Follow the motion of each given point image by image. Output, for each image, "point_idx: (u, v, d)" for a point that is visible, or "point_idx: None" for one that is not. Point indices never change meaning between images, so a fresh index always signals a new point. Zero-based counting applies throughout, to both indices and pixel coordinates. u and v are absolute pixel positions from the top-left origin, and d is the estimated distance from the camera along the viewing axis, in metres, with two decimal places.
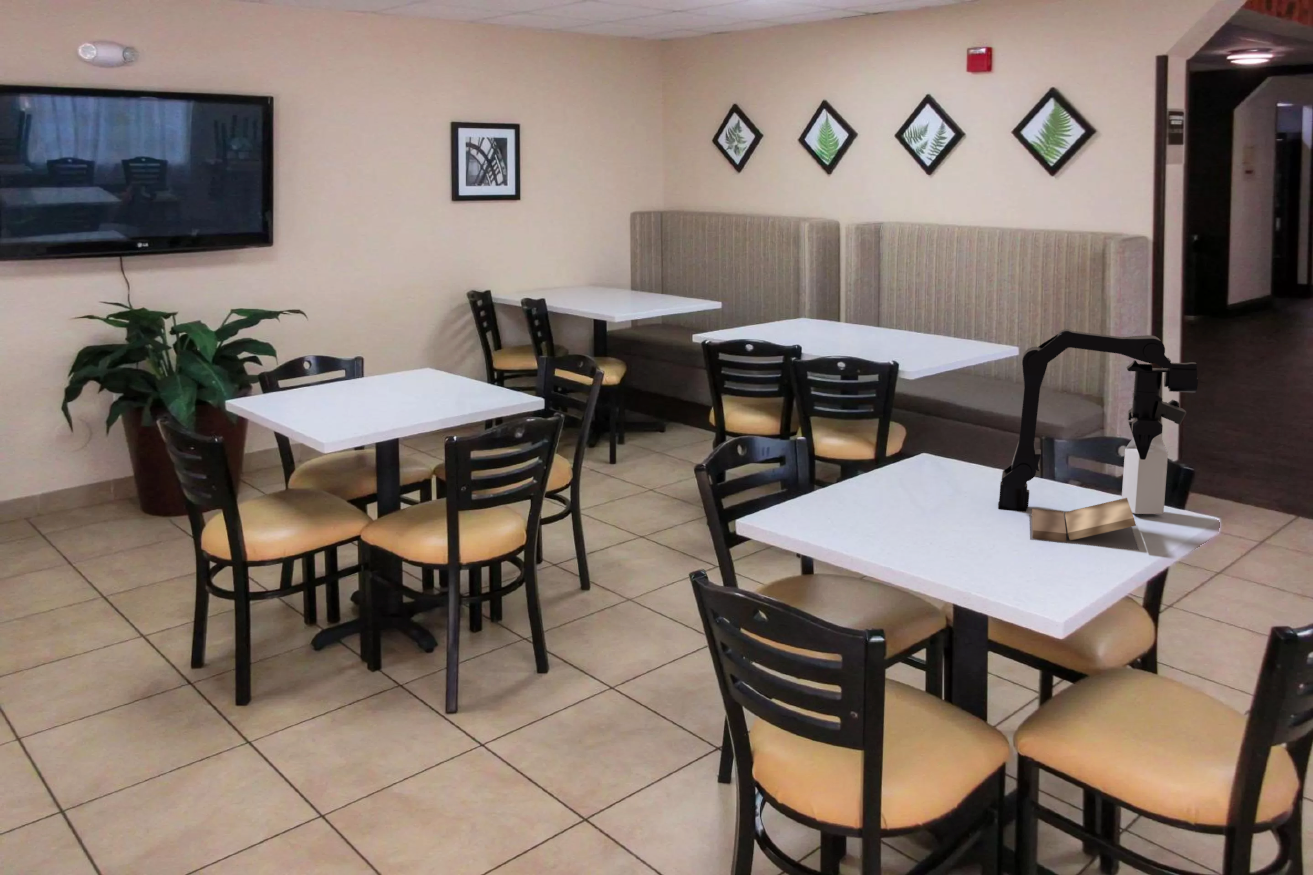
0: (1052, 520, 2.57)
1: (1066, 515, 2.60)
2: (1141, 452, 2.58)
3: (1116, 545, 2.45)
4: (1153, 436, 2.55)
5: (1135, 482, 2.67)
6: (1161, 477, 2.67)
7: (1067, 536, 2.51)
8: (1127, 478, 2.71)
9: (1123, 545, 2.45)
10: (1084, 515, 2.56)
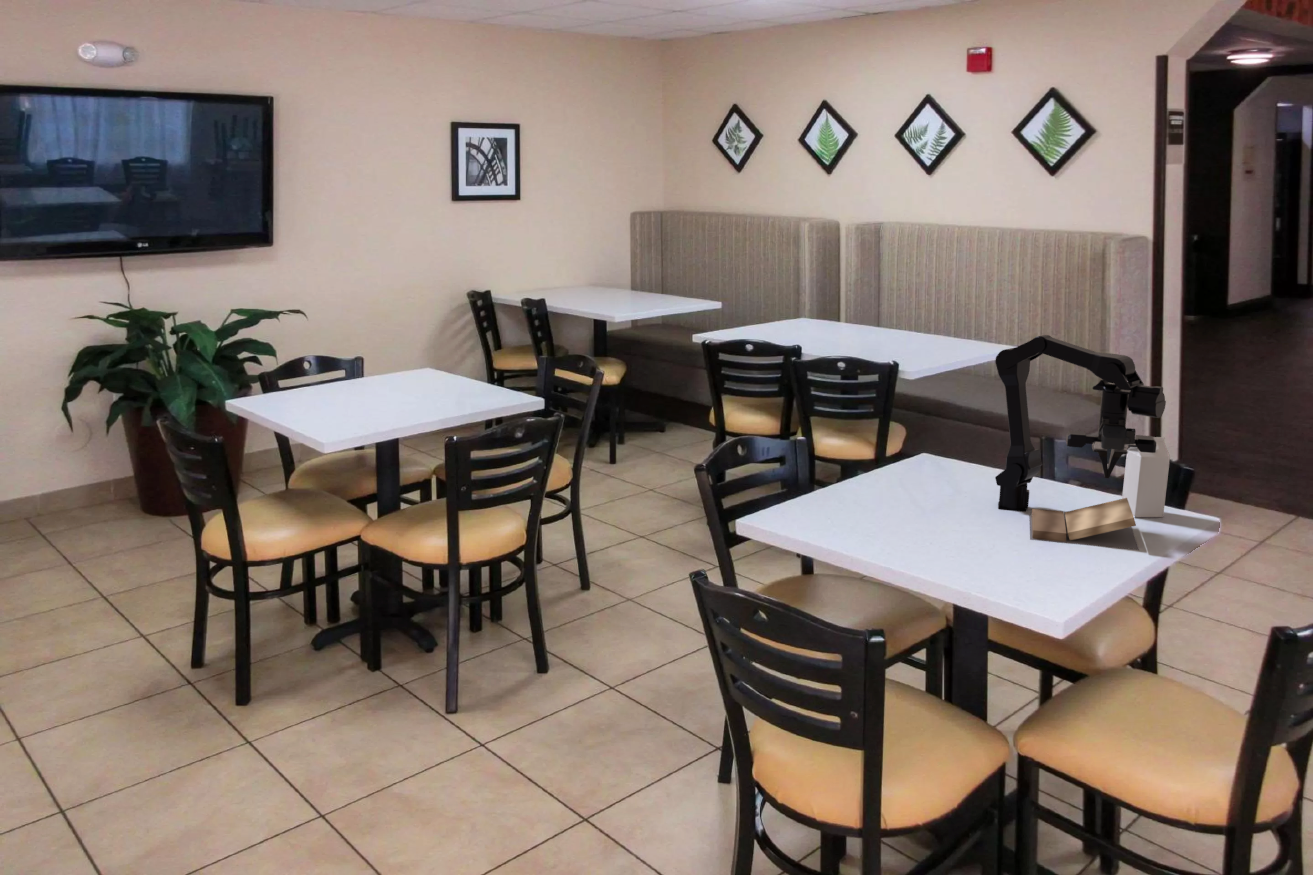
0: (1052, 520, 2.57)
1: (1066, 515, 2.60)
2: None
3: (1116, 545, 2.45)
4: None
5: (1136, 486, 2.66)
6: (1162, 481, 2.66)
7: (1067, 536, 2.51)
8: (1128, 480, 2.70)
9: (1123, 545, 2.45)
10: (1084, 515, 2.56)
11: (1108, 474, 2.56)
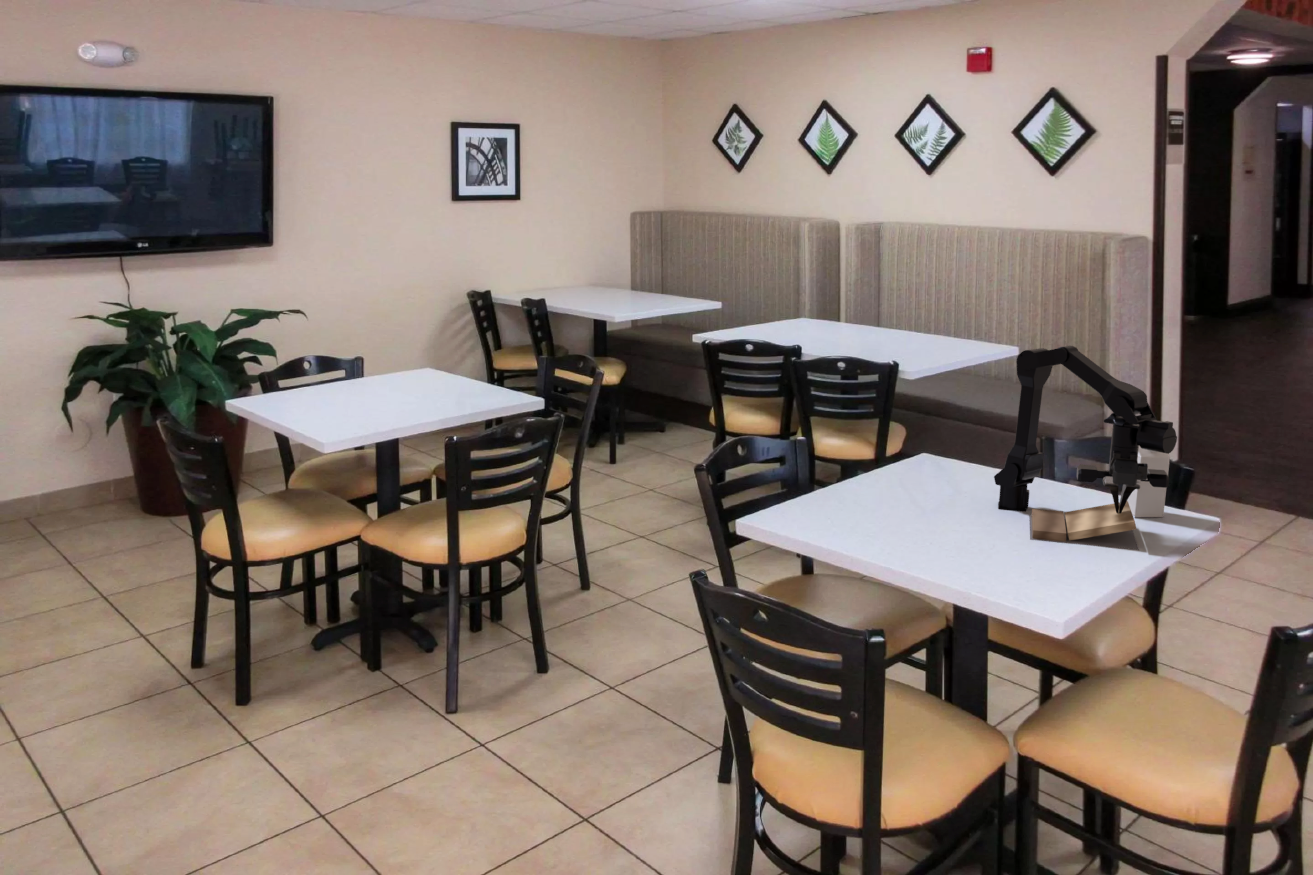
0: (1052, 520, 2.57)
1: (1066, 515, 2.60)
2: (1114, 504, 2.52)
3: (1116, 545, 2.45)
4: None
5: None
6: None
7: (1067, 536, 2.51)
8: None
9: (1123, 545, 2.45)
10: (1084, 516, 2.56)
11: (1120, 509, 2.51)
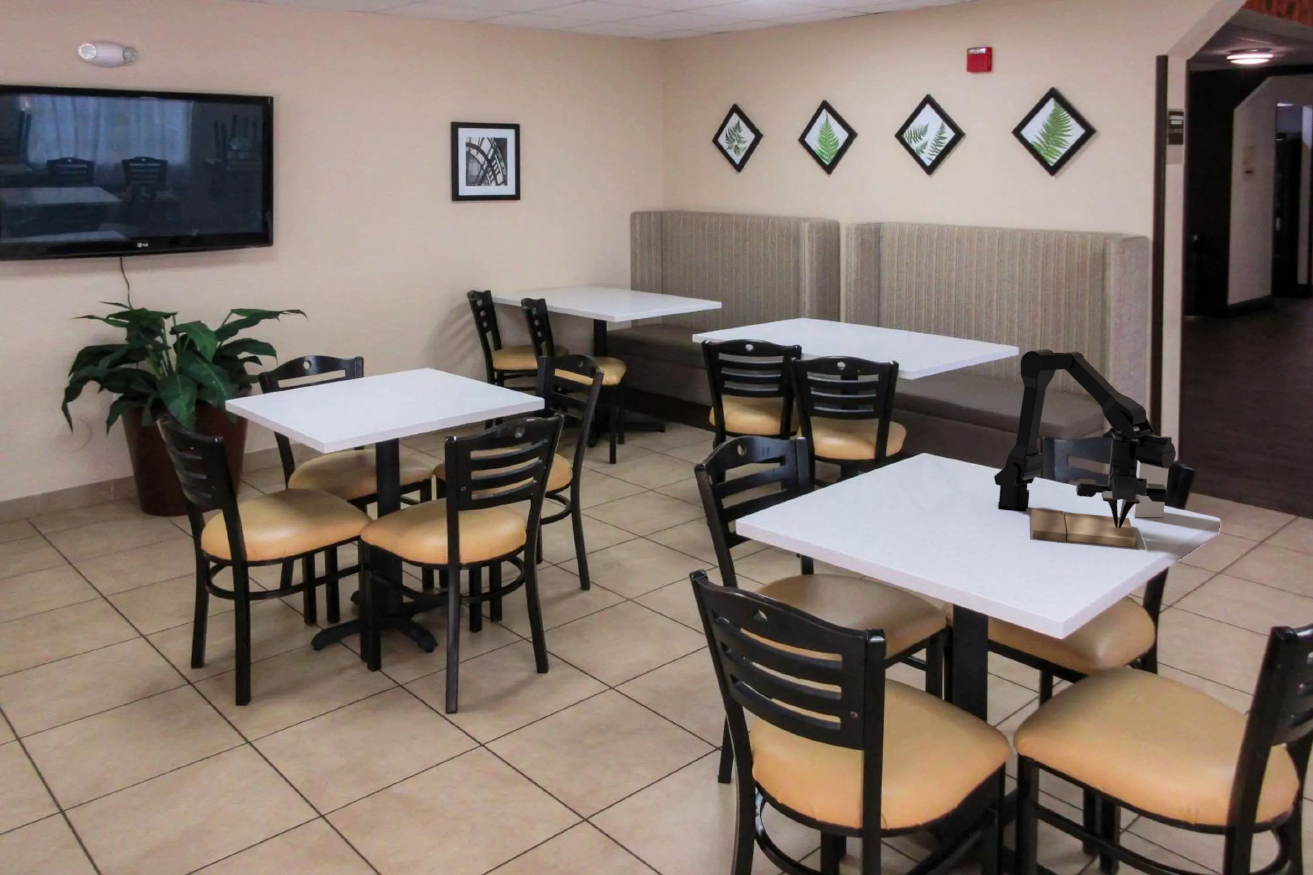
0: (1052, 520, 2.57)
1: (1066, 515, 2.60)
2: None
3: (1116, 545, 2.45)
4: None
5: None
6: (1162, 481, 2.66)
7: None
8: None
9: None
10: (1084, 521, 2.56)
11: (1120, 523, 2.51)
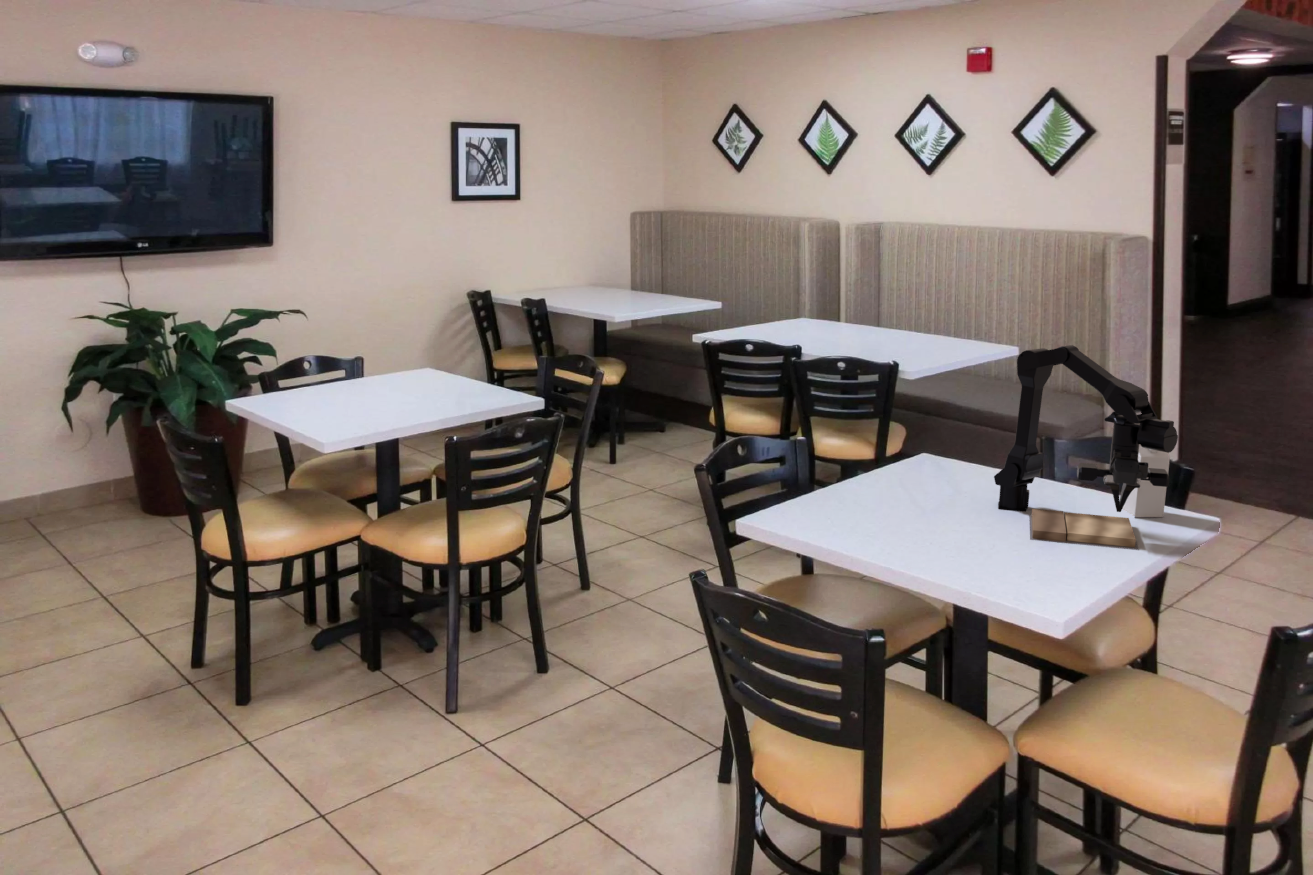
0: (1052, 520, 2.57)
1: (1066, 515, 2.60)
2: None
3: (1116, 545, 2.45)
4: None
5: None
6: None
7: None
8: None
9: None
10: (1084, 521, 2.56)
11: (1120, 508, 2.51)
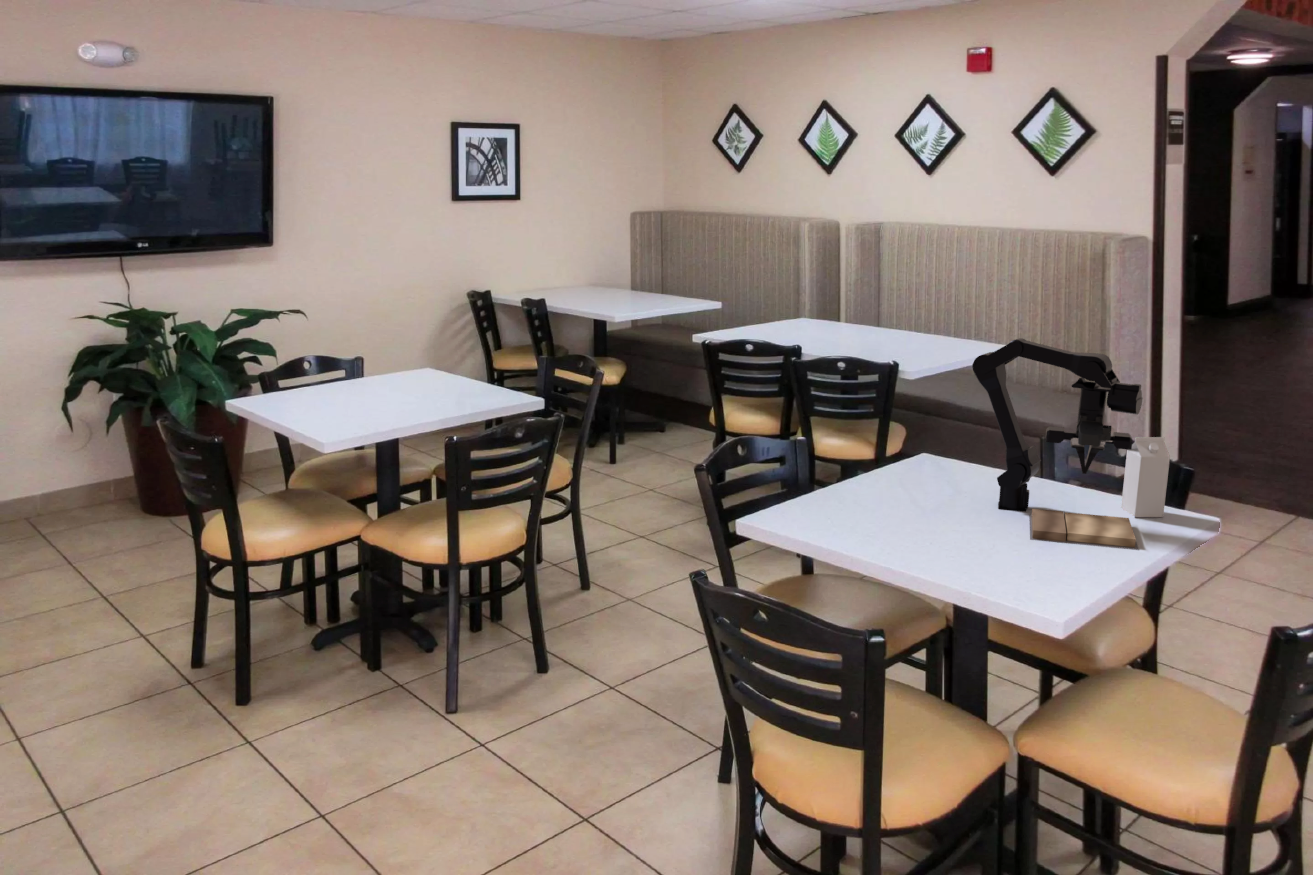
0: (1052, 520, 2.57)
1: (1066, 515, 2.60)
2: None
3: (1116, 545, 2.45)
4: None
5: (1136, 486, 2.66)
6: (1162, 481, 2.66)
7: None
8: (1128, 480, 2.70)
9: None
10: (1084, 521, 2.56)
11: (1085, 470, 2.62)
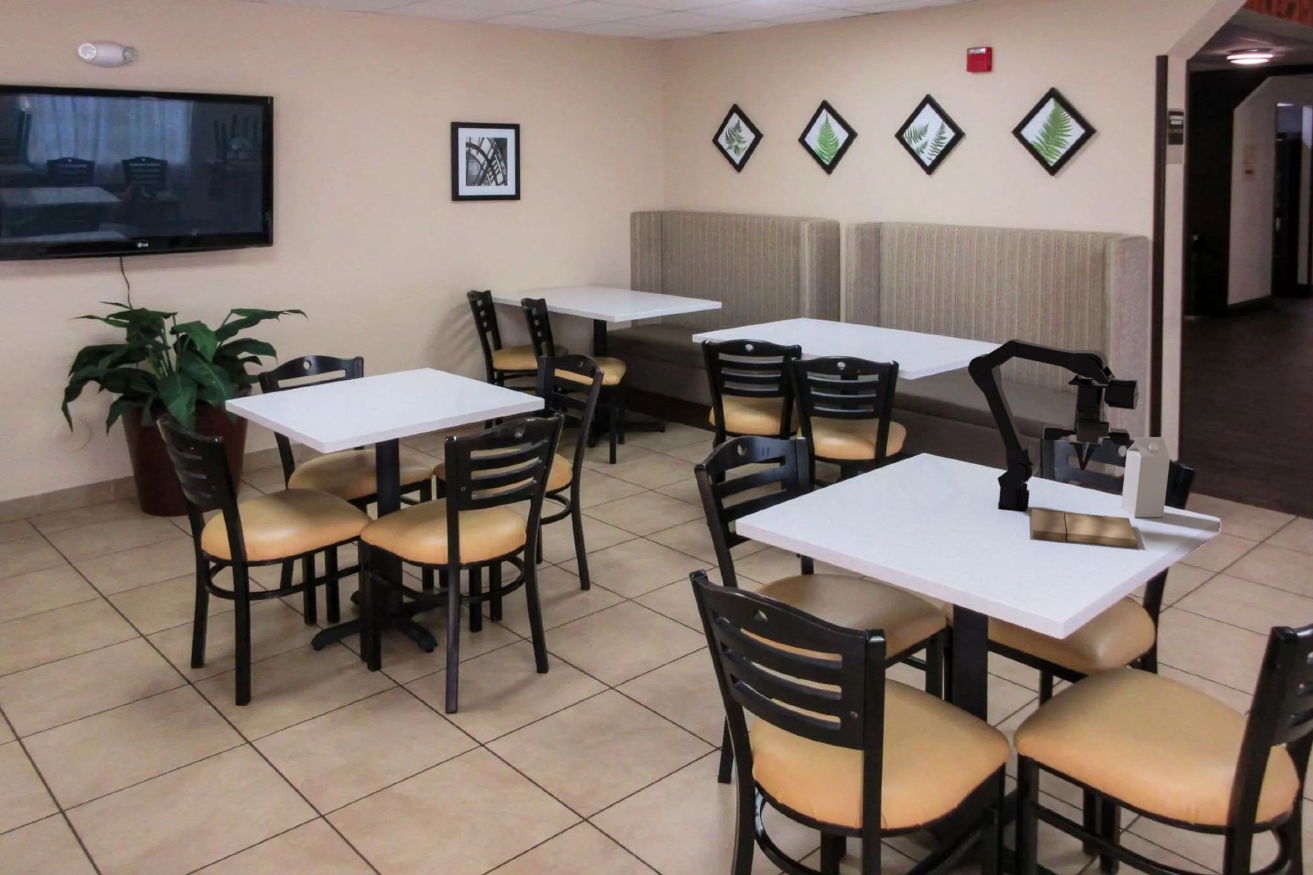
0: (1052, 520, 2.57)
1: (1066, 515, 2.60)
2: None
3: (1116, 545, 2.45)
4: None
5: (1136, 486, 2.66)
6: (1162, 481, 2.66)
7: None
8: (1128, 480, 2.70)
9: None
10: (1084, 521, 2.56)
11: (1083, 466, 2.63)
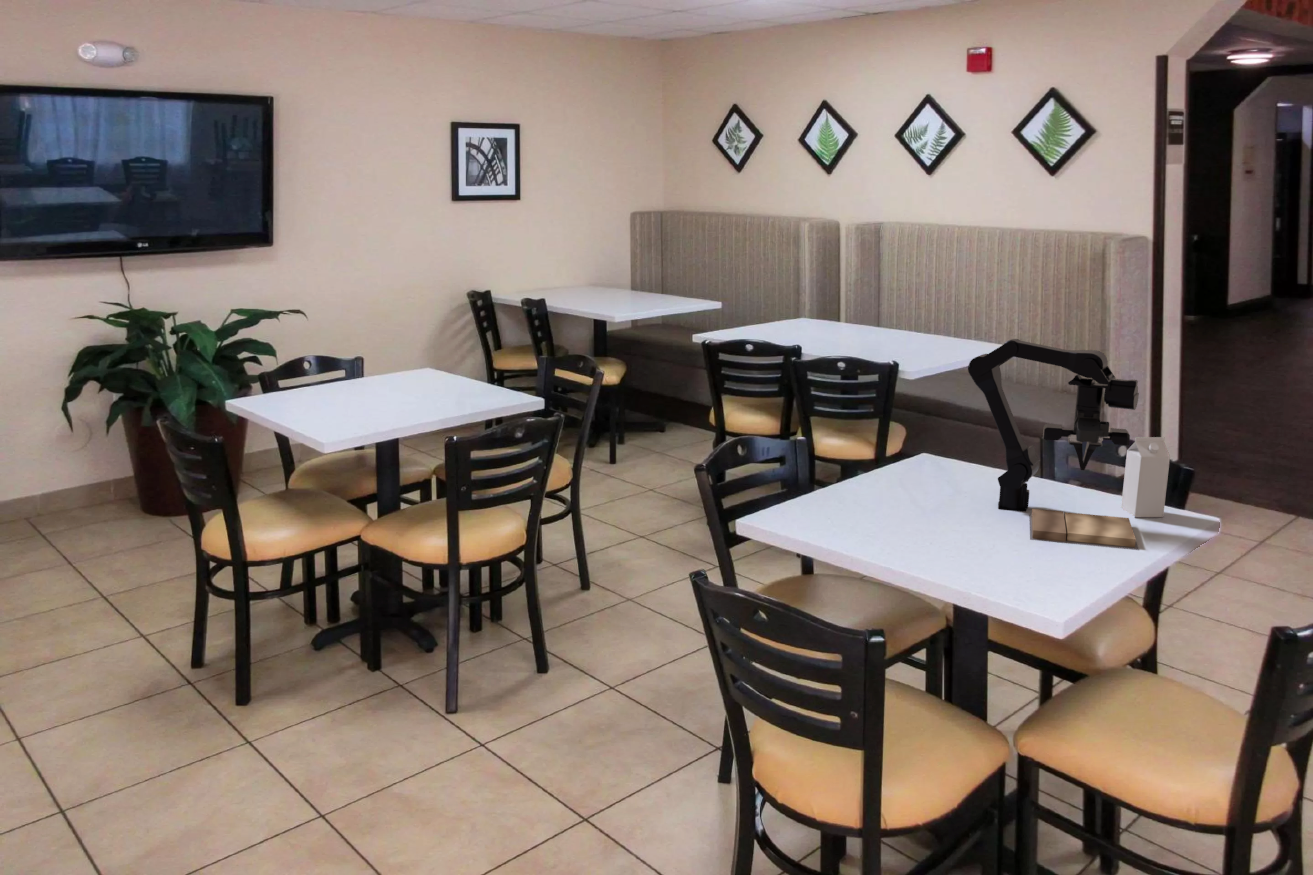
0: (1052, 520, 2.57)
1: (1066, 515, 2.60)
2: None
3: (1116, 545, 2.45)
4: None
5: (1136, 486, 2.66)
6: (1162, 481, 2.66)
7: None
8: (1128, 480, 2.70)
9: None
10: (1084, 521, 2.56)
11: (1083, 466, 2.63)
